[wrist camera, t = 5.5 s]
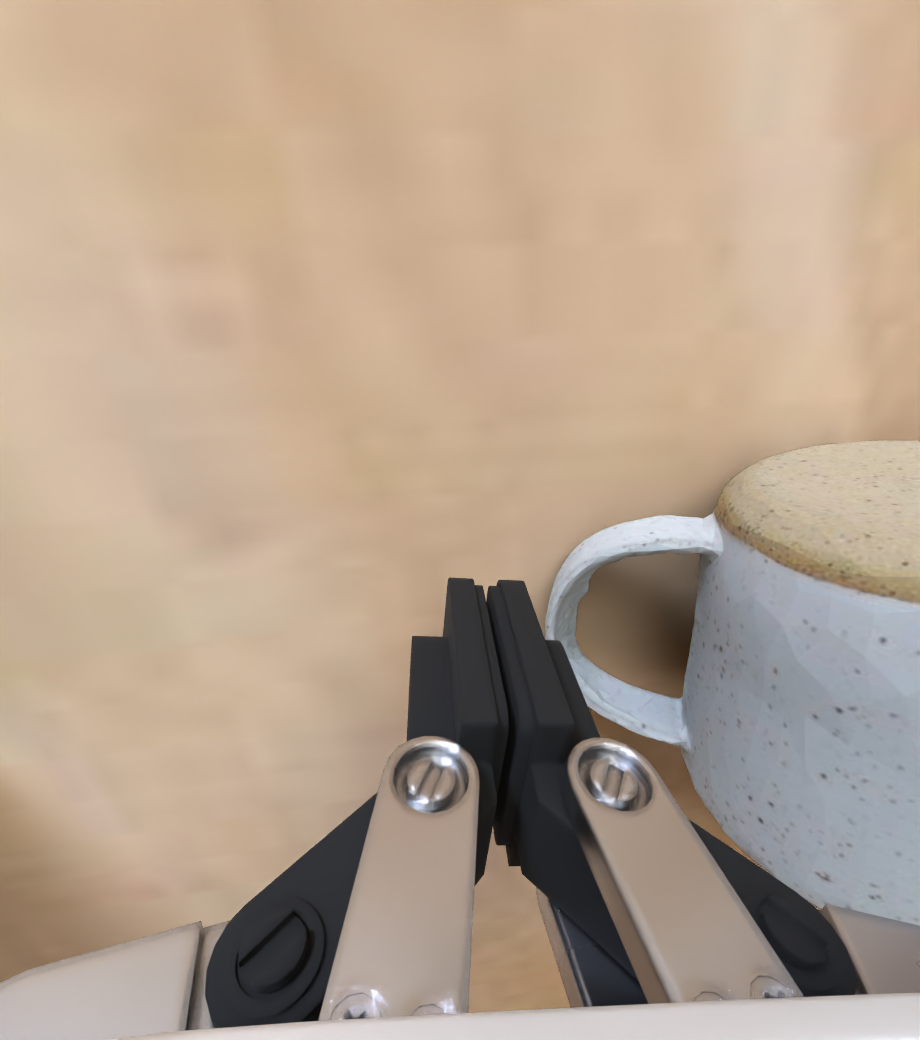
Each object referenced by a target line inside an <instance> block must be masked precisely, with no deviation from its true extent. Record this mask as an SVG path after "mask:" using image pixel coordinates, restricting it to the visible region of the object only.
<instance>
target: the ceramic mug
mask: <svg viewBox="0 0 920 1040" xmlns="http://www.w3.org/2000/svg"><path fill="white" fill-rule="evenodd" d="M667 552H671V553H675V554H688V553H700V554H701V556H700V565H699V570H698V576H697V577H698V593H697V600H696V606H695V622H694V627H693V634H692V639H691V646H690V650H689V658H688V663H687V669H686V674H685V676H684V680H685V683H684V689H683V695H682V697H681V698H674V697H667V696H663V695H660V694H657V693H653V692H651V691H648V690H644V689H640V688H638V687H636V686H632V685H629V684H627V683H625V682H622V681H620V680H618V679H616V678H615V677H613V676H611V675H609V674H607V673H605V672H604V671H603V670H601V669H600V668H599V667H597V666H596V665H595V664H593V663H592V662H591V661H590V660H589V659H588V658H587V657H586V656H585V655H584V654H583V653H582V652H581V650H580V649H579V646H578V642H577V640H576V639H575V634H576V617H577V609H578V603H579V601H580V600H581V598H582V597H583V596H584V595H585V594H586V593H587V591H588V590H589V579H590V578H591V576H592V575H593V571H595V570H596V569H598V568H599V567H601V566H603V565H606V564H608V563H612V562H616V561H619V560H621V559H623V558H625V557H630V556H641V555H652V554H660V553H667ZM545 640H558V641H560V642H561V643H562V645H563V647H564V649H565V652H566V654H567V657H568V659H569V662H570V664H571V667H572V669H573V671H574V674H575V676H576V679H577V681H578V684H579V686H580V689H581V691H582V694H583V696H584V699H585V701H586V704H587V706H588V707H590V708H591V709H593V710H594V711H596V712H597V713H598V714H600V715H601V716H603V717H605V718H606V719H608V720H610V721H612V722H614V723H616V724H618V725H620V726H622V727H624V728H626V729H628V730H631V731H633V732H635V733H637V734H639V735H642V736H645V737H648V738H651V739H655V740H658V741H662V742H665V743H668V744H672V745H675V746H679V747H681V750H682V755H683V758H684V761H685V764H686V767H687V769H688V772H689V774H690V777H691V780H692V783H693V785H694V788H695V790H696V792H697V794H698V795H699V797H700V799H701V800H702V802H703V803H704V804H705V806H706V807H707V809H708V810H709V812H710V813H711V814H712V816H713V817H714V819H715V820H716V821H717V823H718V824H719V826H720V827H721V828H722V830H723V831H724V832H725V833H726V834H727V835H728V836H729V837H730V838H731V839H732V840H733V841H734V842H735V843H736V844H737V845H738V846H739V847H740V848H741V849H742V850H743V851H744V852H745V853H746V854H747V855H748V856H749V857H750V858H752V859H753V860H754V861H755V862H756V863H758V864H759V865H760V866H761V867H762V868H764V869H765V870H766V871H767V872H768V873H770V874H771V875H772V876H773V877H775V878H776V879H778V880H779V881H781V882H782V883H784V884H785V885H787V886H788V887H790V888H791V889H793V890H794V891H796V892H797V893H798V894H799V895H801V896H802V897H803V898H804V899H806V900H807V901H809V902H810V903H811V904H813V905H814V906H816V907H818V908H820V909H822V908H823V907H824V906H825V904H829V905H834V906H838V907H842V908H846V909H851V910H855V911H859V912H863V913H868V914H872V915H876V916H880V917H885V918H889V919H893V920H897V921H902V922H906V923H910V924H914V925H919V926H920V441H914V440H876V441H863V442H850V443H835V444H823V445H818V446H812V447H807V448H800V449H794V450H791V451H787V452H784V453H780V454H777V455H774V456H770V457H767V458H764V459H762V460H760V461H758V462H756V463H754V464H752V465H750V466H748V467H747V468H746V469H744V470H743V471H742V472H740V473H739V474H737V475H736V476H735V477H733V478H732V479H731V480H730V481H729V482H728V484H727V485H726V486H725V487H724V488H723V490H722V492H721V495H720V497H719V500H718V503H717V505H716V507H715V509H714V510H713V512H712V513H711V514H710V515H709V516H707V517H705V518H698V517H680V516H673V515H666V516H653V517H649V518H644V519H639V520H635V521H629V522H624V523H620V524H617V525H615V526H612V527H609V528H606V529H603V530H601V531H599V532H597V533H595V534H593V535H592V536H590V537H589V538H587V539H586V540H584V541H582V542H581V543H580V544H579V545H578V546H577V547H576V548H575V549H574V550H573V551H572V552H571V554H570V555H569V556H568V557H567V559H566V560H565V562H564V564H563V565H562V567H561V569H560V570H559V572H558V574H557V575H556V577H555V581H554V584H553V588H552V592H551V596H550V600H549V605H548V609H547V614H546V618H545Z"/></svg>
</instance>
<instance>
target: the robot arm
mask: <svg viewBox="0 0 920 1040" xmlns="http://www.w3.org/2000/svg"><path fill="white" fill-rule="evenodd" d="M492 827H493V829H494V836H495V842H496V844H497V845H506V851H507V857H508V864H509V866H521V871H522V874H523V875H524V876H525V877H526V878H527V879H528V880H530V881H531V882H532V883H533V884H534V885H535V886H536V894H537V899H538V905H539V908H540V912H541V915H542V918H543V921H544V924H545V927H546V931H547V934H548V937H549V940H550V943H551V946H552V950H553V953H554V956H555V959H556V962H557V965H558V969H559V972H560V975H561V978H562V981H563V984H564V988H565V991H566V994H567V997H568V1000H569V1003H570V1007H571V1008H555V1009H534V1010H514V1011H494V1012H476V1013H468V1007H469V987H470V966H471V946H472V926H473V905H474V886H475V885H476V884H477V882H478V881H479V880H480V879H481V877H482V876H483V875H484V871H485V865H486V860H487V854H488V849H489V843H490V838H491V832H492ZM0 1040H920V926H919V925H914V924H910V923H906V922H902V921H897V920H893V919H889V918H885V917H880V916H876V915H872V914H868V913H863V912H859V911H855V910H851V909H846V908H842V907H838V906H834V905H829V904H825V906H824V907H823V908H822V910H817V909H816V908H815V907H814V906H813V905H812V904H811V903H809V902H808V901H807V900H806V899H804V898H803V897H802V896H801V895H799V894H798V893H797V892H796V891H794V890H793V889H791V888H790V887H788V886H787V885H785V884H784V883H782V882H781V881H779V880H778V879H776V878H775V877H773V876H772V875H770V874H769V873H767V872H766V871H765V870H763V869H762V868H760V867H759V866H757V865H756V864H754V863H753V862H751V861H750V860H748V859H747V858H745V857H744V856H742V855H741V854H739V853H738V852H736V851H735V850H733V849H732V848H730V847H729V846H728V845H726V844H725V843H723V842H722V841H720V840H719V839H717V838H716V837H714V836H713V835H711V834H710V833H708V832H707V831H705V830H704V829H702V828H701V827H699V826H698V825H696V824H695V823H693V822H692V821H691V820H689V819H688V818H687V817H686V816H685V814H684V812H683V811H682V809H681V808H680V806H679V805H678V803H677V802H676V800H675V799H674V797H673V796H672V794H671V793H670V791H669V790H668V788H667V787H666V785H665V783H664V782H663V780H662V779H661V777H660V776H659V774H658V773H657V771H656V770H655V769H654V767H653V766H652V765H651V764H650V763H649V761H648V760H647V759H646V758H645V757H644V756H643V755H641V754H640V753H639V752H637V751H636V750H635V749H634V748H632V747H630V746H628V745H626V744H624V743H622V742H620V741H616V740H613V739H609V738H600V736H599V733H598V731H597V728H596V726H595V723H594V721H593V718H592V716H591V714H590V711H589V709H588V706H587V704H586V701H585V699H584V696H583V694H582V691H581V689H580V686H579V684H578V681H577V679H576V676H575V674H574V671H573V669H572V667H571V664H570V662H569V659H568V657H567V654H566V652H565V649H564V647H563V645H562V643H561V642H560V641H558V640H545V639H544V636H543V633H542V630H541V628H540V625H539V622H538V619H537V616H536V613H535V611H534V608H533V605H532V602H531V599H530V597H529V594H528V591H527V588H526V585H525V583H524V581H515V580H498V582H497V586H489V588H488V593H487V601H486V600H485V595H484V590H483V586H481V585H474V580H473V579H467V578H449V579H448V585H447V596H446V607H445V618H444V629H443V637H428V636H412V648H411V665H410V684H409V705H408V728H407V742H406V743H404V744H402V745H401V746H399V747H398V748H397V749H396V750H395V751H394V752H393V753H392V755H391V756H390V757H389V759H388V761H387V763H386V766H385V768H384V770H383V774H382V778H381V782H380V786H379V790H378V792H377V793H376V794H375V795H374V796H373V797H371V798H370V799H369V800H368V801H367V802H366V803H364V804H363V805H362V806H361V807H360V808H359V809H357V810H356V811H355V812H354V813H353V814H351V815H350V816H349V817H348V818H347V819H346V820H344V821H343V822H342V823H341V824H340V825H339V826H337V827H336V828H335V829H334V830H333V831H332V832H330V833H329V834H328V835H327V836H326V837H325V838H323V839H322V840H321V841H320V842H319V843H317V844H316V845H315V846H314V847H313V848H312V849H310V850H309V851H308V852H307V853H306V854H305V855H303V856H302V857H301V858H300V859H299V860H298V861H296V862H295V863H294V864H293V865H292V866H291V867H289V868H288V869H287V870H286V871H285V872H283V873H282V874H281V875H280V876H279V877H278V878H276V879H275V880H274V881H273V882H272V883H271V884H269V885H268V886H267V887H266V888H265V889H264V890H262V891H261V892H260V893H259V894H258V895H257V896H255V897H254V898H253V899H252V900H251V901H249V902H248V903H247V904H246V905H245V906H244V907H243V908H242V909H241V910H240V911H239V912H238V913H237V914H236V915H235V916H234V917H233V919H232V920H231V921H227V922H224V923H220V924H217V925H213V926H210V927H206V928H203V926H202V922H201V921H199V922H196V923H192V924H188V925H185V926H181V927H178V928H174V929H171V930H167V931H164V932H160V933H156V934H153V935H149V936H146V937H142V938H139V939H135V940H131V941H128V942H124V943H121V944H117V945H114V946H110V947H107V948H103V949H99V950H96V951H92V952H89V953H85V954H82V955H78V956H74V957H71V958H67V959H64V960H60V961H57V962H53V963H49V964H46V965H42V966H39V967H35V968H32V969H29V970H26V971H24V972H22V973H20V974H17V975H15V976H13V977H11V978H8V979H6V980H4V981H2V982H0Z"/></svg>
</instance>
